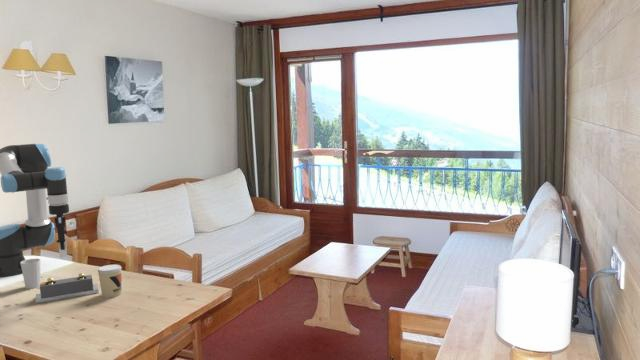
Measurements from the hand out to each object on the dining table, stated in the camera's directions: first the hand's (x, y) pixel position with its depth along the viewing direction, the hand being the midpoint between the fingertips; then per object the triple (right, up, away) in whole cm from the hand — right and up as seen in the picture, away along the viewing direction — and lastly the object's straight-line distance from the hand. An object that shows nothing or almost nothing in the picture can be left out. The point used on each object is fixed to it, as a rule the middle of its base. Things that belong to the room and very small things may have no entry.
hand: (63, 253), depth 217 cm
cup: (-21, -18, +15) cm, 32 cm away
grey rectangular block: (+1, -17, +2) cm, 17 cm away
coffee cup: (+20, -18, +2) cm, 27 cm away
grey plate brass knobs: (+1, -18, +2) cm, 19 cm away
